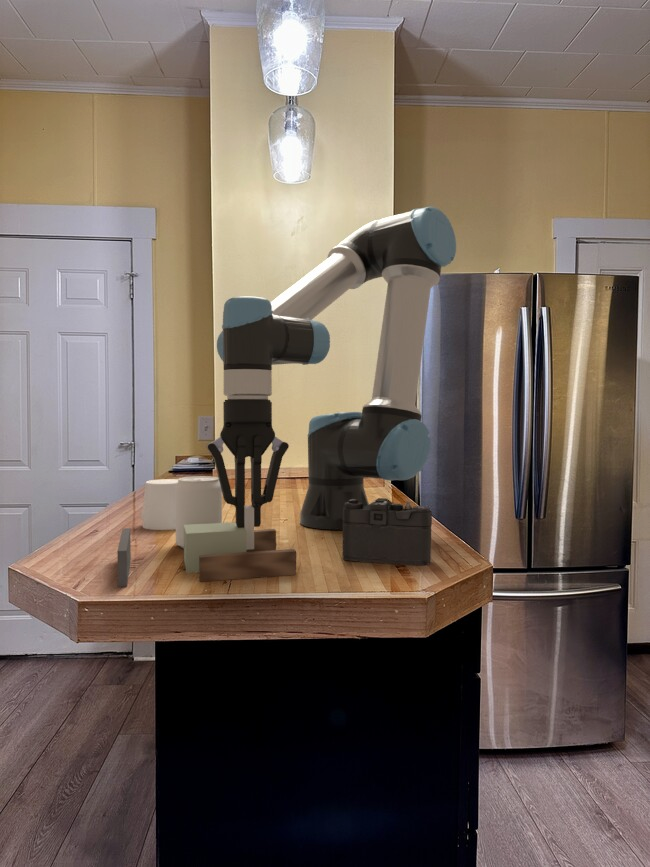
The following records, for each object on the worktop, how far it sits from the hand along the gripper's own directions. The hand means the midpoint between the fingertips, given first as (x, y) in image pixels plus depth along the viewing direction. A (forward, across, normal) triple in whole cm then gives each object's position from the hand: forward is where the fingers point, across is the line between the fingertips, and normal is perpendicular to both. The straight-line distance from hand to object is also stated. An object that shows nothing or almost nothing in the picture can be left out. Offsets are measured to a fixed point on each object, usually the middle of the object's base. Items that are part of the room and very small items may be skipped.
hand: (248, 547), depth 99 cm
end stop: (+3, +19, 0) cm, 19 cm away
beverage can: (+3, +6, -15) cm, 16 cm away
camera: (+3, -23, +2) cm, 23 cm away
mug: (+3, +10, -34) cm, 36 cm away
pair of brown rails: (+3, +1, 0) cm, 3 cm away
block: (+3, +5, -1) cm, 6 cm away
